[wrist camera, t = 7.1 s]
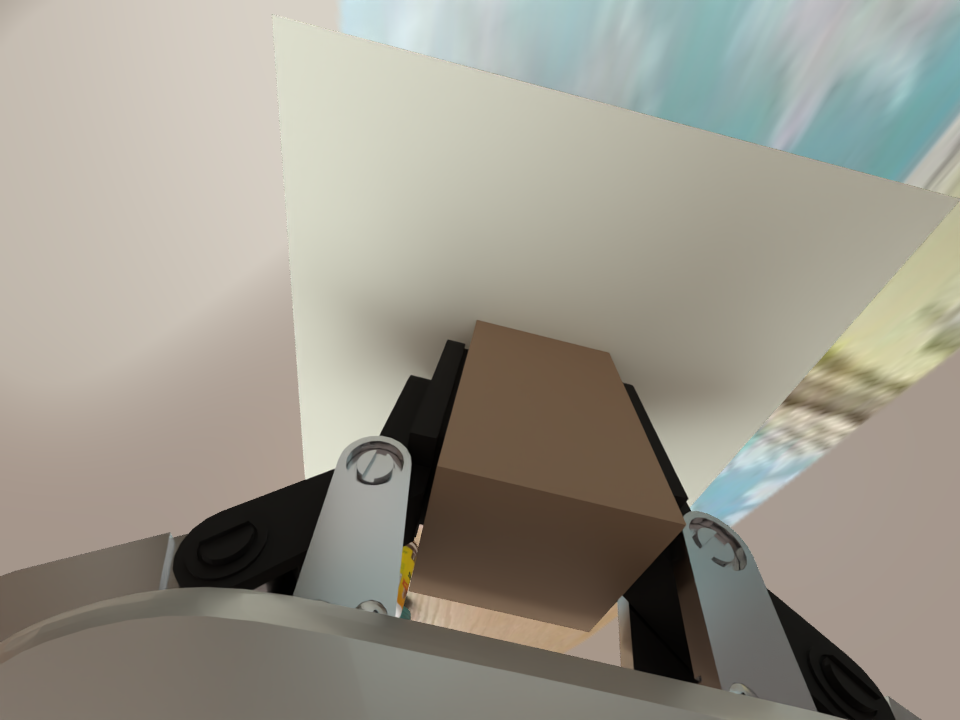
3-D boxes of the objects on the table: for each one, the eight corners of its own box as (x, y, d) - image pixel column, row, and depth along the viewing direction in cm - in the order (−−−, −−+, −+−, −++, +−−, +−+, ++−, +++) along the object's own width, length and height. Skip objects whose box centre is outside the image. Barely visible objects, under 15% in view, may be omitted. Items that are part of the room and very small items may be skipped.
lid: (915, 194, 8) (1742, 274, 3) (634, 541, 16) (694, 747, 10) (298, 29, 8) (-245, -282, 2) (317, 467, 16) (204, 639, 10)
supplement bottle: (410, 561, 49) (384, 649, 40) (374, 546, 48) (340, 633, 39) (425, 543, 46) (401, 634, 37) (387, 527, 45) (353, 616, 37)
